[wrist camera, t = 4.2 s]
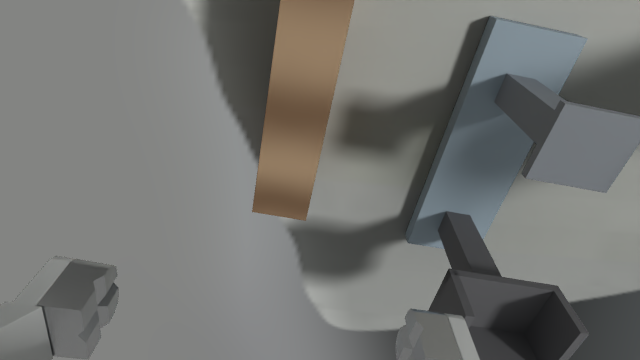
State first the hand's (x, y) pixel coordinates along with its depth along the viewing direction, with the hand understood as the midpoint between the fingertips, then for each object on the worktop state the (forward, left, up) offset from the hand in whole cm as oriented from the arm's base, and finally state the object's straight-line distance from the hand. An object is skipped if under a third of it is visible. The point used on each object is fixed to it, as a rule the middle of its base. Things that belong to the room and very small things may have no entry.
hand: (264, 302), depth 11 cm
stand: (+2, +14, -20) cm, 24 cm away
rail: (0, 0, -20) cm, 20 cm away
